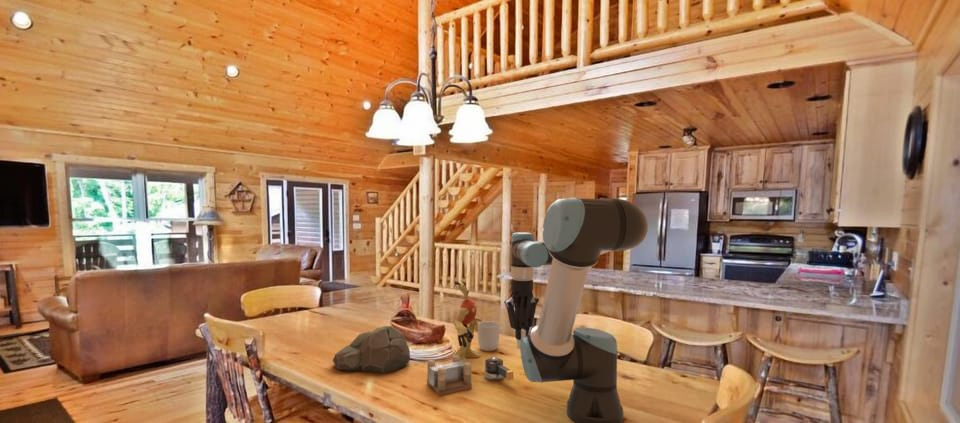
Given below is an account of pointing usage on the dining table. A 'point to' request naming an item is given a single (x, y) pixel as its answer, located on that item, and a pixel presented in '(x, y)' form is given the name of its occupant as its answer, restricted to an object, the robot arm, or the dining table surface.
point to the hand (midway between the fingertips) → (521, 348)
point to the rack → (452, 387)
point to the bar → (447, 373)
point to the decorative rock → (375, 352)
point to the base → (493, 376)
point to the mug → (488, 335)
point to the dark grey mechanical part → (498, 368)
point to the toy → (462, 320)
